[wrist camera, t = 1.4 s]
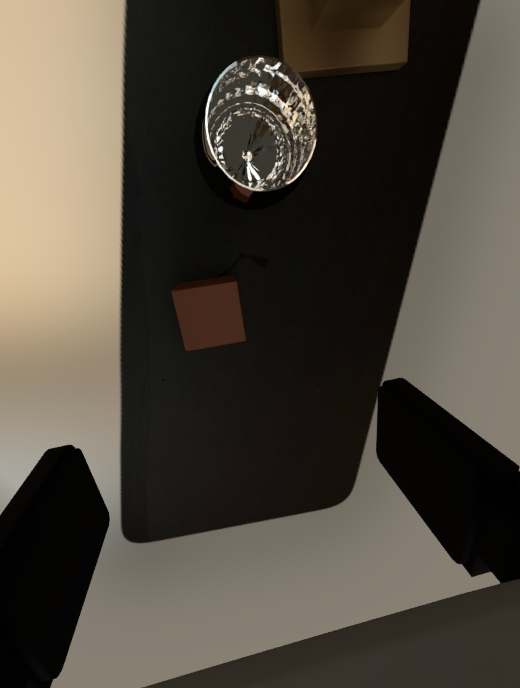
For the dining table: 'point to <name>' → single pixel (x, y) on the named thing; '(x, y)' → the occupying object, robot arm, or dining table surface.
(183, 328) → the block
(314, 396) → the dining table surface
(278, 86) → the wineglass
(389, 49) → the pedestal
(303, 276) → the dining table surface
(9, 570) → the robot arm
